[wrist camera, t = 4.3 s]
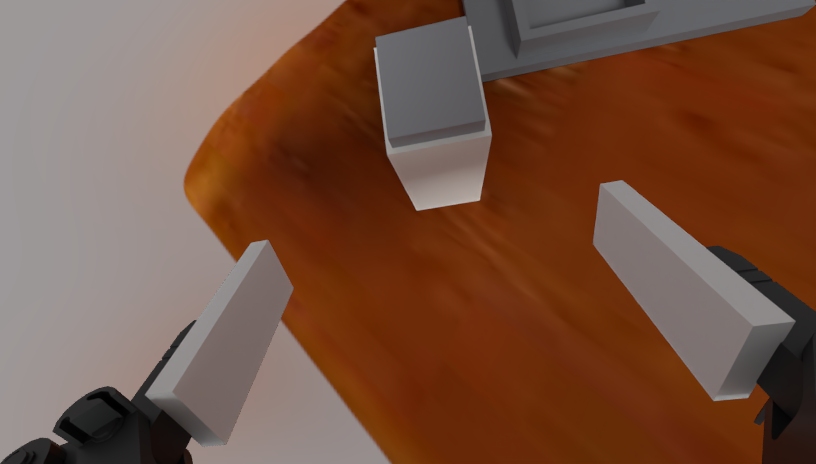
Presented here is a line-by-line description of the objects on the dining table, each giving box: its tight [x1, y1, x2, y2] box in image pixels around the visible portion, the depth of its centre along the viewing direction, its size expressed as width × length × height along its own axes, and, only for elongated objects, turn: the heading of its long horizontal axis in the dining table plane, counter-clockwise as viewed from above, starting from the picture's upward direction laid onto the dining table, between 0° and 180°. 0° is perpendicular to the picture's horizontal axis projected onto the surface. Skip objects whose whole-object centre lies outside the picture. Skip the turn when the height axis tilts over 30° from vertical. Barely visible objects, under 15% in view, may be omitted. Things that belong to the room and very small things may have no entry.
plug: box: [374, 16, 492, 211], centre depth 21 cm, size 5×6×12 cm
